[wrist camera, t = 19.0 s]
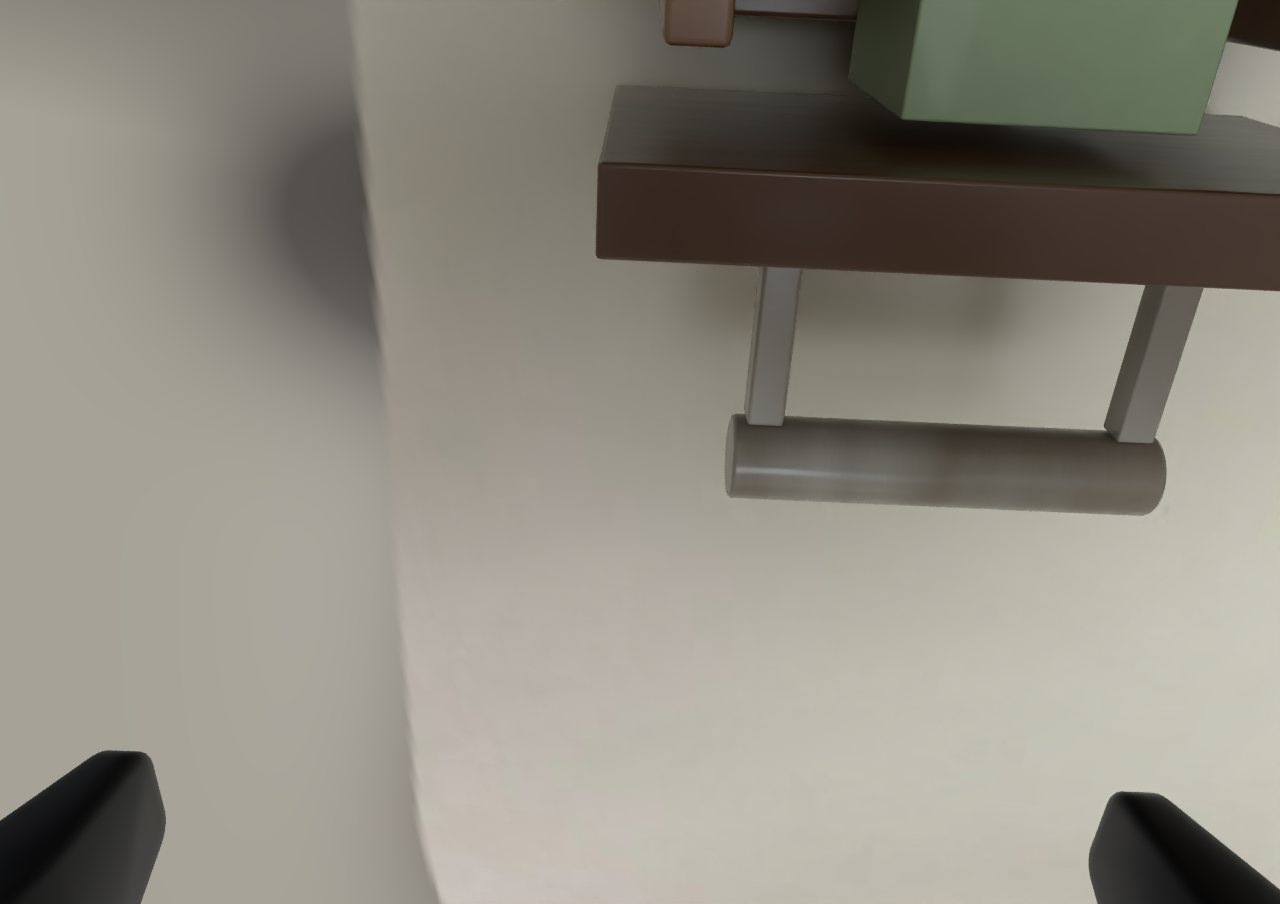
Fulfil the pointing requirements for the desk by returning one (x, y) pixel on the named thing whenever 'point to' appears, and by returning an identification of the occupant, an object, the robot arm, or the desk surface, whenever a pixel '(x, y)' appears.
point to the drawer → (938, 256)
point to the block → (1043, 61)
